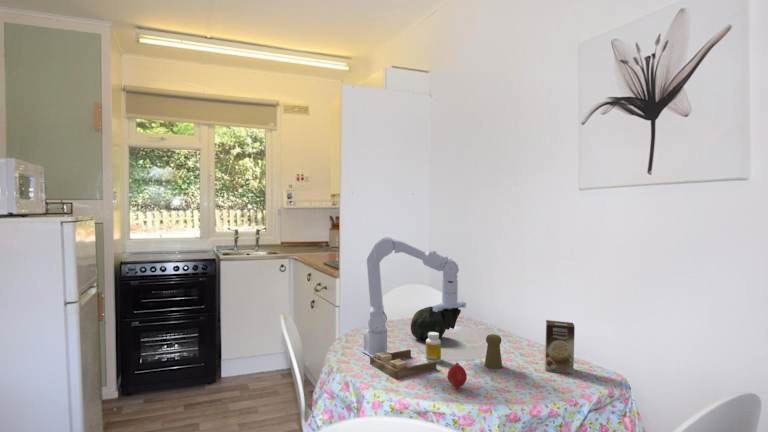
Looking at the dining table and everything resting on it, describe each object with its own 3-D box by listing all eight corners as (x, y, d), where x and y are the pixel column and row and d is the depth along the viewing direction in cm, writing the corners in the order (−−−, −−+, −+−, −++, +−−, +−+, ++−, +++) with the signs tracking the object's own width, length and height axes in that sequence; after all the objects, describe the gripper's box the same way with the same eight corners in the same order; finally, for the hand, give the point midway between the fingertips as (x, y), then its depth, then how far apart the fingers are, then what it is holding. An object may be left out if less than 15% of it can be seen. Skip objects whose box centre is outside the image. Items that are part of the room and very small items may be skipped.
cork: (502, 370, 151) (503, 337, 151) (484, 368, 152) (485, 336, 152) (501, 364, 157) (502, 333, 157) (484, 362, 158) (484, 332, 158)
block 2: (389, 373, 148) (389, 361, 147) (398, 370, 150) (399, 359, 150) (397, 376, 144) (397, 364, 144) (406, 374, 147) (406, 362, 147)
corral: (369, 364, 156) (370, 357, 156) (409, 356, 165) (409, 349, 165) (395, 378, 142) (395, 371, 142) (436, 369, 151) (436, 361, 151)
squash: (412, 319, 198) (412, 299, 188) (446, 322, 196) (447, 301, 186) (409, 347, 188) (409, 327, 178) (445, 351, 186) (446, 330, 176)
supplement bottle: (438, 363, 157) (439, 336, 157) (424, 361, 159) (424, 334, 159) (442, 358, 162) (442, 332, 162) (427, 356, 164) (428, 330, 164)
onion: (445, 384, 138) (445, 359, 138) (463, 384, 138) (463, 358, 138) (449, 392, 132) (450, 365, 132) (468, 391, 133) (469, 365, 132)
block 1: (375, 365, 155) (375, 353, 155) (385, 363, 158) (385, 351, 157) (381, 368, 152) (381, 356, 152) (391, 366, 154) (391, 354, 154)
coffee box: (544, 371, 151) (545, 324, 150) (544, 365, 157) (545, 319, 156) (574, 374, 148) (574, 326, 147) (572, 368, 154) (573, 322, 153)
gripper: (441, 295, 157) (441, 333, 157) (471, 292, 165) (471, 328, 165) (429, 292, 163) (428, 329, 163) (458, 289, 171) (458, 324, 171)
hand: (449, 328), depth 165 cm, fingers closed
